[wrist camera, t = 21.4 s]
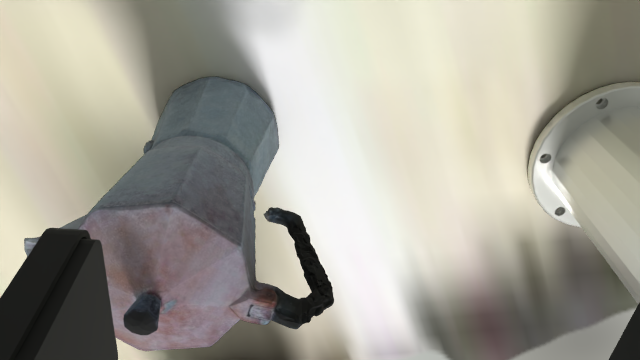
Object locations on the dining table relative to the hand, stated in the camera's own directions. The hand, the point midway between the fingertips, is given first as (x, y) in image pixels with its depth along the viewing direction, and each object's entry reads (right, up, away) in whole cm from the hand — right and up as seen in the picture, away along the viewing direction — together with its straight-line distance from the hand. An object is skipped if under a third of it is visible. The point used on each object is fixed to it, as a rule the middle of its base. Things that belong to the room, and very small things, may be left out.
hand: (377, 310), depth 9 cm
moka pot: (-8, +6, +32) cm, 33 cm away
